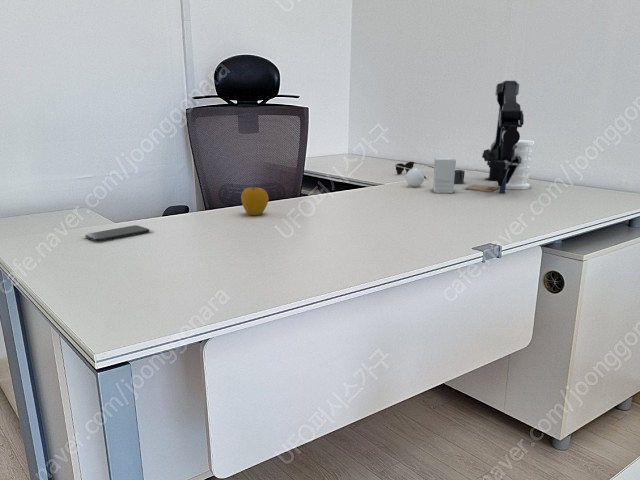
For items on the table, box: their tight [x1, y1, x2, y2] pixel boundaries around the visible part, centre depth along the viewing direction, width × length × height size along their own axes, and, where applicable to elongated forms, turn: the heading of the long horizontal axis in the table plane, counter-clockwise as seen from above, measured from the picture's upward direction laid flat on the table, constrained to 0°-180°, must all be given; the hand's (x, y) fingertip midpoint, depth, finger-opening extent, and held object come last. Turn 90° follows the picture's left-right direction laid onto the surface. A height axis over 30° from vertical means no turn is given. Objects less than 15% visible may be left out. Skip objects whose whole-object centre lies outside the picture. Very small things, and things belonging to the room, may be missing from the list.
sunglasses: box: [394, 161, 434, 180], centre depth 265 cm, size 14×16×5 cm
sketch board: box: [465, 184, 500, 193], centre depth 234 cm, size 10×10×1 cm
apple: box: [240, 186, 270, 217], centre depth 188 cm, size 8×8×9 cm
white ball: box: [405, 167, 425, 187], centre depth 238 cm, size 10×7×7 cm
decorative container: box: [505, 139, 535, 190], centre depth 235 cm, size 12×12×18 cm
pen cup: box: [454, 169, 465, 185], centre depth 246 cm, size 5×5×5 cm
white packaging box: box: [432, 156, 457, 194], centre depth 226 cm, size 7×7×13 cm
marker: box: [499, 175, 507, 194], centre depth 225 cm, size 2×2×9 cm
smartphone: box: [84, 224, 150, 242], centre depth 164 cm, size 8×1×16 cm
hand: (503, 184), depth 225 cm, fingers open, 6 cm apart
